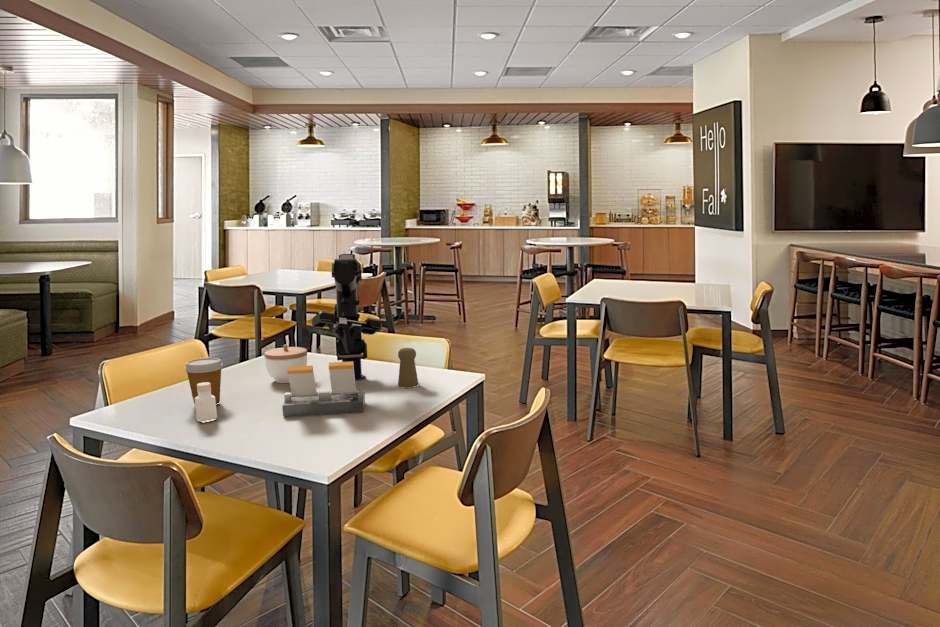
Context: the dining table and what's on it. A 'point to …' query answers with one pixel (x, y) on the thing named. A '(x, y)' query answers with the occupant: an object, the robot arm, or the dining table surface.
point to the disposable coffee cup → (205, 375)
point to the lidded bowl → (284, 361)
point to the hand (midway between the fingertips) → (348, 352)
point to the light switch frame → (324, 404)
